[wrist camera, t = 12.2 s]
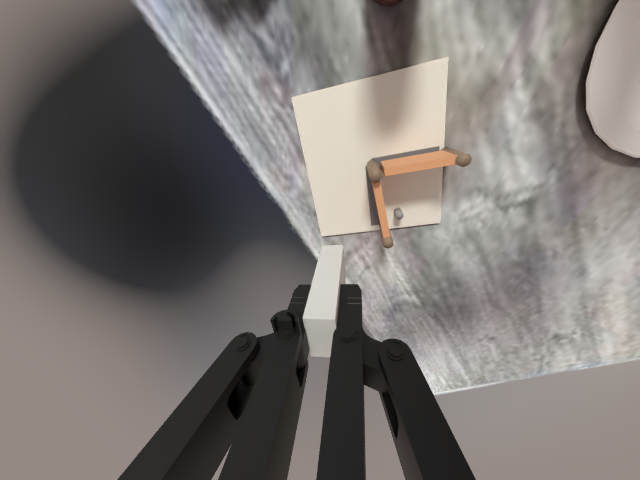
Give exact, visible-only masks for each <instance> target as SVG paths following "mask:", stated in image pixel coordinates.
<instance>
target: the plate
mask: <svg viewBox="0 0 640 480" xmlns="http://www.w3.org/2000/svg"><path fill="white" fill-rule="evenodd" d="M585 112H586V114H587V117H588V119H589V122H590V124H591V127H592V129H593V132H594V133H595V134H596V135H597V136H598V137H599V138H600V139H601V140H602V141H603V142H604V143H605V144H606V145H607V146H608V147H609V148H610V149H613V150H615V151H618V152H621V153H623V154H626V155H628V156H631V157H634V158H640V0H618V2H617V3H616V4H615V6H614V8H613V10H612V12H611V14H610V16H609V18H608V20H607V22H606V24H605V26H604V28H603V30H602V32H601V34H600V36H599V38H598V40H597V42H596V44H595V46H594V49H593V53H592V57H591V60H590V64H589V68H588V72H587V75H586V79H585Z"/></svg>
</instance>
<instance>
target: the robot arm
mask: <svg viewBox="0 0 640 480" xmlns="http://www.w3.org/2000/svg"><path fill="white" fill-rule="evenodd" d="M345 277H346V276H345V262H344V249H343V245H329V246H322V248H321V251H320V255H319V259H318V263H317V266H316V270H315V274H314V277H313V281H312V285H299V286H298V287H297V288H296V289H295V290H294V293H293V295H292V298H291V301H290V304H289V307H288V309H287V310H283V311H280V312H278V313H276V314H275V315H274V316H273V317H272V318H271V324H272V327H273V330H274V333H272V334H269V335H266V336H262V337H258V338H256V336H255V335H254V334H253V333H249V332H246V333H242V334H240V335H238V336H236V337H235V338H234V339H233V340H232V341H231V342H230V343H229V344H228V346H227V347H226V348H225V349H224V351H223V352H222V353H221V354H220V356H219V357H218V358H217V359H216V360H215V362H214V363H213V364H212V365H211V366H210V368H209V369H208V370H207V371H206V372H205V374H204V375H203V376H202V378H201V379H200V380H199V381H198V382H197V383H196V385H195V386H194V387H193V388H192V390H191V391H190V392H189V393H188V394H187V396H186V397H185V398H184V399H183V400H182V402H181V403H180V404H179V405H178V407H177V408H176V409H175V410H174V411H173V413H172V414H171V415H170V417H169V418H168V419H167V420H166V421H165V422H164V424H163V425H162V426H161V427H160V428H159V430H158V431H157V432H156V433H155V435H154V436H153V437H152V438H151V440H150V441H149V442H148V443H147V444H146V446H145V447H144V448H143V449H142V450H141V452H140V453H139V454H138V455H137V457H136V458H135V459H134V460H133V462H132V463H131V464H130V465H129V466H128V467H127V469H126V470H125V471H124V473H123V474H122V475H121V476H120V477H119V479H118V480H211V479H212V477H213V476H214V474H215V472H216V470H217V468H218V467H219V465H220V463H221V461H222V460H223V458H224V456H225V455H226V453H227V451H228V449H229V447H230V446H231V447H230V450H229V453H228V455H227V458H226V460H225V463H224V466H223V468H222V471H221V474H220V476H219V479H218V480H287V476H288V471H289V466H290V461H291V455H292V450H293V445H294V440H295V434H296V429H297V424H298V419H299V414H300V408H301V403H302V398H303V393H304V387H305V382H306V377H307V372H308V360H307V358H308V353H309V352H310V356H315V357H330V365H329V374H328V383H327V391H326V401H325V409H324V417H323V426H322V435H321V444H320V452H319V453H320V454H319V461H318V471H317V479H316V480H366V469H365V467H366V466H365V419H364V385H366V386H368V387H371V388H373V389H375V390H377V391H379V394H380V397H381V400H382V404H383V407H384V410H385V414H386V417H387V420H388V423H389V427H390V430H391V433H392V437H393V440H394V443H395V446H396V449H397V453H398V456H399V459H400V463H401V466H402V470H403V473H404V476H405V479H406V480H476V479H475V477H474V475H473V473H472V471H471V469H470V467H469V465H468V463H467V461H466V459H465V458H464V455H463V453H462V451H461V449H460V447H459V445H458V443H457V441H456V439H455V437H454V435H453V433H452V431H451V429H450V427H449V425H448V423H447V421H446V419H445V417H444V415H443V413H442V411H441V409H440V407H439V405H438V403H437V401H436V399H435V397H434V395H433V393H432V391H431V389H430V387H429V385H428V383H427V381H426V379H425V377H424V375H423V373H422V371H421V369H420V367H419V365H418V363H417V361H416V359H415V357H414V355H413V353H412V351H411V349H410V348H409V347H408V345H407V344H405V343H404V342H402V341H401V340H398V339H387V340H384V341H383V342H380V341H377V340H374V339H372V338H370V337H369V336H367V334H366V333H365V332H364V330H363V327H362V295H361V289H360V287H359V286H358V284H345ZM231 444H232V445H231Z"/></svg>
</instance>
